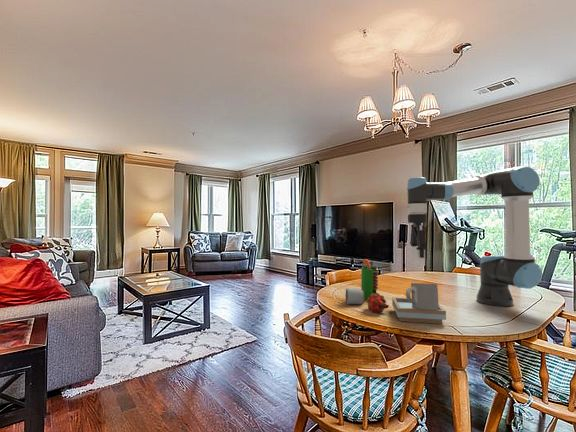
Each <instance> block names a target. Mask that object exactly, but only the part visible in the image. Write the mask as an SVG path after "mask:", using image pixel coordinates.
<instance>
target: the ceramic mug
mask: <svg viewBox="0 0 576 432" xmlns="http://www.w3.org/2000/svg"><path fill="white" fill-rule="evenodd" d="M344 295H345V303H346V305H362V304H364V302H365V299H364V292H363V290H361V289H359V288H351V287H350V288H349V287H346V288H345V294H344Z"/></svg>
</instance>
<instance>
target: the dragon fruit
mask: <svg viewBox="0 0 576 432" xmlns="http://www.w3.org/2000/svg"><path fill="white" fill-rule="evenodd" d="M366 302H367V307H368V308H367V309H368V310H371V311H373V313H375V314H379V311H380V312H384V311H385V309H388V308H389V307H390V304H388V302H387V300H386V299H385V297H384V295H381V294H380V293H378V292H376V293H373V294H371V295H370V296H369V297H368V300H367V299H366Z"/></svg>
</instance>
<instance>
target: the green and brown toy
mask: <svg viewBox="0 0 576 432" xmlns="http://www.w3.org/2000/svg"><path fill="white" fill-rule="evenodd" d="M362 264H363V265H364V264H365V265H367V266H362V267H361V278H360V281H361V282H360V284H361V285H360V286H361V287H360V288H361V290H363V292H364V300H366V301H367V300H368V297H369V296H370V295H371V294H373V293H377V290H378V289H379V287H378V285H379V270H377V269H378V268H377V266H371V264H370V260H369V259H363V260H362Z"/></svg>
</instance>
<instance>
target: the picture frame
mask: <svg viewBox="0 0 576 432" xmlns="http://www.w3.org/2000/svg"><path fill="white" fill-rule="evenodd" d="M391 298H392V299H391V300H392V302H391V304H392V305H391V306H392V307H393V310H394V312H395V314H396V316H397V317H398V321H400V322H410V323H411V322H412V323H428V324H429V323H430V324H443V321H446V320H447V310H446V309H445V308H444V307H443V306H441V304H440V303H439V302H438V304H439V310H426V309H415V308H412V303H411V302H409V301H408V300H407V298H406V297H391ZM411 299H412V297H411Z"/></svg>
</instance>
